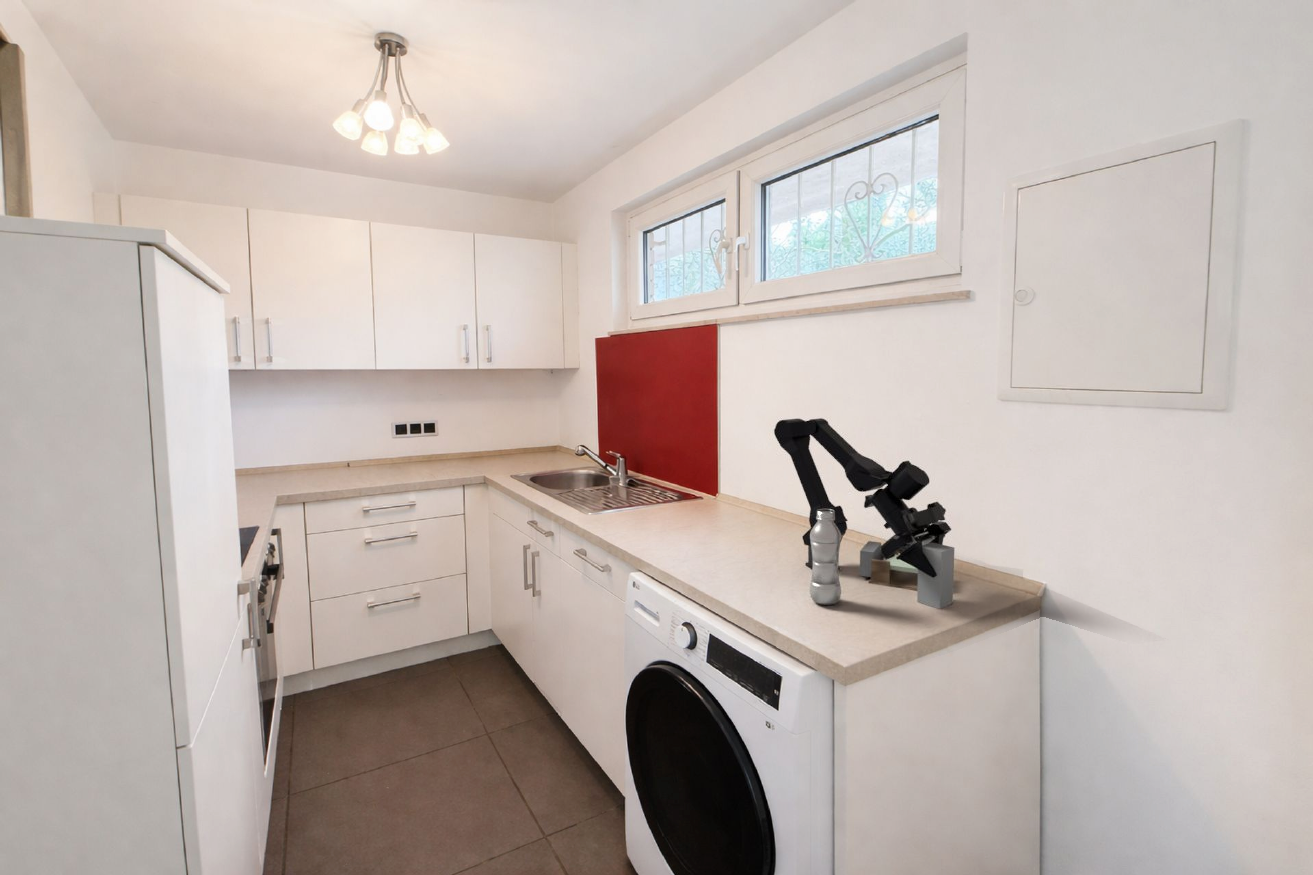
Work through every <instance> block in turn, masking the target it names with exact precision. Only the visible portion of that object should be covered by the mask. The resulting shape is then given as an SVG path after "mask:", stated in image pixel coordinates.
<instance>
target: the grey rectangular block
mask: <svg viewBox="0 0 1313 875" xmlns="http://www.w3.org/2000/svg"><path fill="white" fill-rule="evenodd" d="M922 551H923V553H924V554H925V556H926V557H927V559H928V561H929V562H930V564H931V565H932V567H933V568H934V570H935V572H936V574H937V576H935V577H934V578H932V577H930V576H929V575H927V574H925V573H924V572H922V571H920V570H918V588H917V590H916V591H917V594H916V596H917V598H916V599H917V600H916V601H917V603H920V604H923V605H926V606H928V607H932V608H934V609H938V610H940V609H941V610H942V609H943V608H945V607H947V606H949V605H953V604H954V576H955V574H954V573H955V572H954V571H955V570H954V569H955V547H953V546H949V545H944V544H943V545H941V544H937V543H932V542H931V543H928V544H925V545H922Z"/></svg>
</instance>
